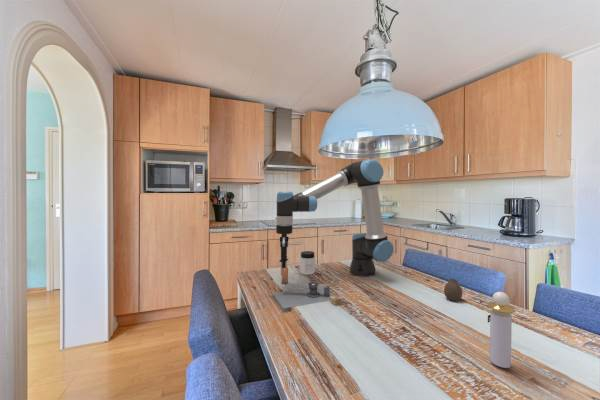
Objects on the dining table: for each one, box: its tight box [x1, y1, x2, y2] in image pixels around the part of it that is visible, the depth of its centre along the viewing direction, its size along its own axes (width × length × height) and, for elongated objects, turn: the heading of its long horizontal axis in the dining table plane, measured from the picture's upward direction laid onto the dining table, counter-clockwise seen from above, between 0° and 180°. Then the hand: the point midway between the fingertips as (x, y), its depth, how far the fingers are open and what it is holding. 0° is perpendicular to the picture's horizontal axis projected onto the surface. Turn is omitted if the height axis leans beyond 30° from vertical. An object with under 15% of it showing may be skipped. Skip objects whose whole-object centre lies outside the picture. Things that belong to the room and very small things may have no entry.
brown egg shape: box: [443, 278, 463, 302], centre depth 114 cm, size 7×7×9 cm
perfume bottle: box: [487, 291, 516, 369], centre depth 70 cm, size 6×6×20 cm
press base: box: [272, 288, 335, 313], centre depth 116 cm, size 25×17×4 cm
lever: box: [280, 266, 331, 295], centre depth 117 cm, size 22×4×11 cm, turn 82°
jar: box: [299, 250, 316, 276], centre depth 154 cm, size 9×8×12 cm
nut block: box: [329, 294, 344, 307], centre depth 108 cm, size 4×4×4 cm
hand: (283, 274), depth 122 cm, fingers closed
